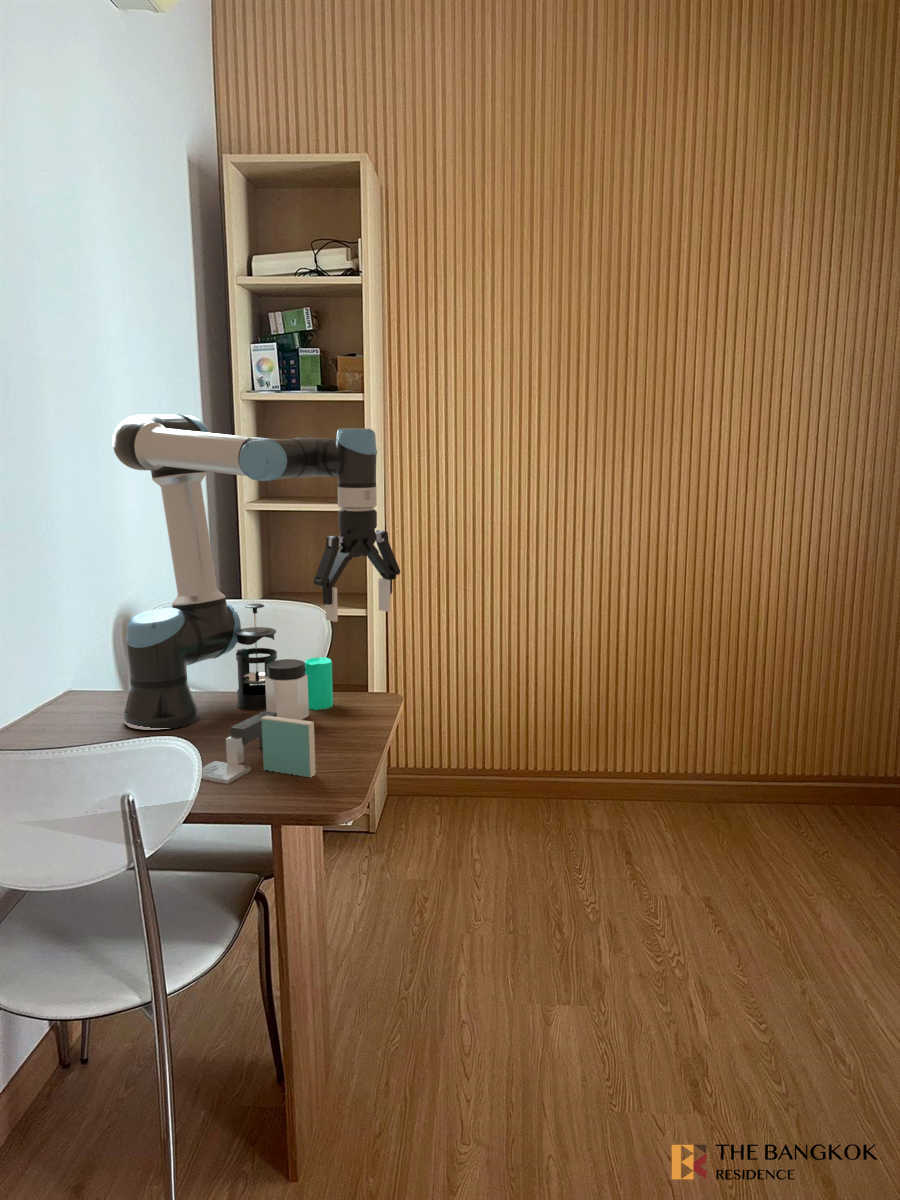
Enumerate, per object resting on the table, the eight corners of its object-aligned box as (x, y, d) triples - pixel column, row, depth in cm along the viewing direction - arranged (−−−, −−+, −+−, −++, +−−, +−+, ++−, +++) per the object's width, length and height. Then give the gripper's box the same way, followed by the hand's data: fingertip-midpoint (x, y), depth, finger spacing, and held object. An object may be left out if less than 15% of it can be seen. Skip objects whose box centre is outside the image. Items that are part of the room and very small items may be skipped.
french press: (289, 704, 217) (286, 604, 213) (254, 713, 210) (250, 610, 206) (259, 694, 225) (255, 597, 221) (224, 702, 218) (220, 603, 214)
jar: (315, 718, 207) (313, 664, 205) (281, 726, 202) (279, 670, 199) (294, 709, 214) (292, 656, 211) (261, 716, 208) (258, 662, 206)
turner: (254, 743, 191) (253, 709, 190) (289, 748, 188) (287, 714, 187) (190, 777, 173) (188, 740, 172) (227, 784, 170) (226, 746, 169)
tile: (268, 767, 178) (266, 715, 176) (315, 774, 174) (313, 721, 172) (262, 770, 176) (260, 718, 174) (310, 778, 172) (308, 724, 171)
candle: (316, 700, 220) (314, 649, 218) (338, 704, 217) (336, 652, 215) (300, 707, 215) (298, 655, 212) (322, 711, 212) (321, 658, 210)
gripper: (318, 514, 176) (320, 627, 180) (417, 506, 193) (417, 609, 197) (293, 511, 181) (296, 621, 185) (392, 503, 199) (392, 604, 203)
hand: (358, 615), depth 191 cm, fingers open, 13 cm apart
